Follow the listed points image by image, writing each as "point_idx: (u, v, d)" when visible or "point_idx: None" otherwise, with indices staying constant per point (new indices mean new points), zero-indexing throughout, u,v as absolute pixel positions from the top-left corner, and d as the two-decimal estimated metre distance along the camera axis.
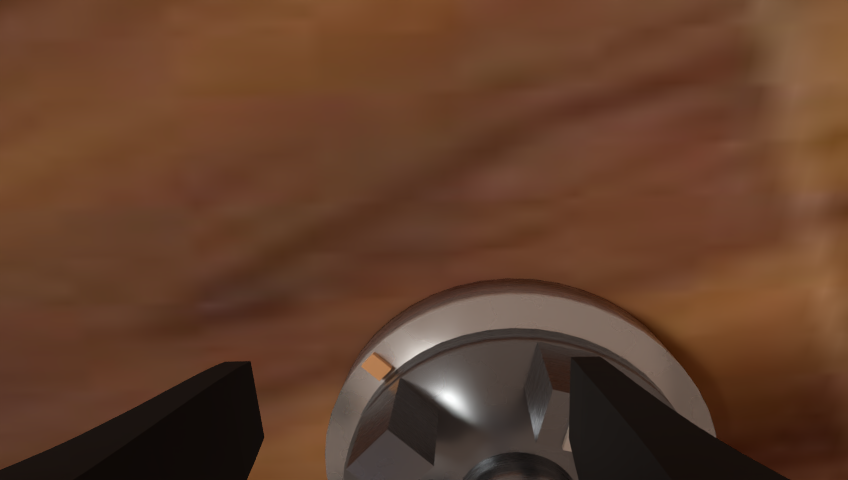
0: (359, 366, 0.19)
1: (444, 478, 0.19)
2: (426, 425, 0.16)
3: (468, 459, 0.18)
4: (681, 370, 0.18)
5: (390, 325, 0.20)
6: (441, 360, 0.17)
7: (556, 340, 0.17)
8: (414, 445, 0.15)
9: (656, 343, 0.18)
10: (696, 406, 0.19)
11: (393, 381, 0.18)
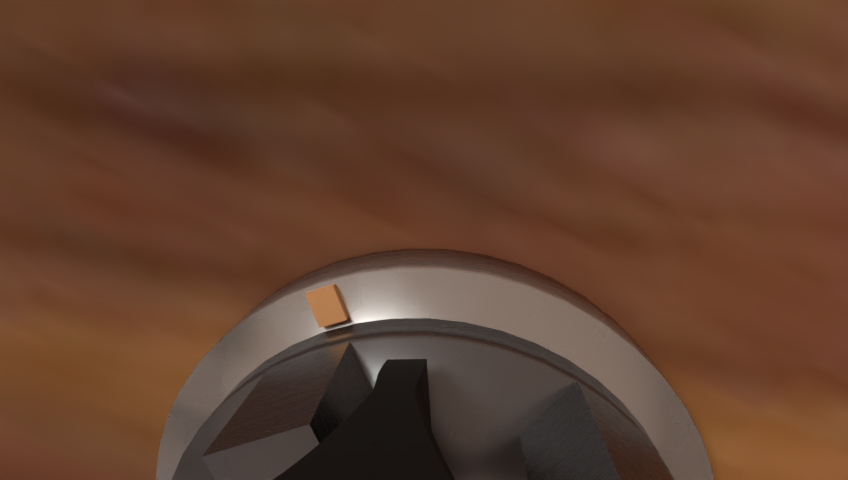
0: (301, 293, 0.12)
1: None
2: None
3: None
4: None
5: (371, 259, 0.13)
6: (424, 345, 0.11)
7: (596, 388, 0.11)
8: None
9: (706, 458, 0.13)
10: None
11: (334, 342, 0.11)
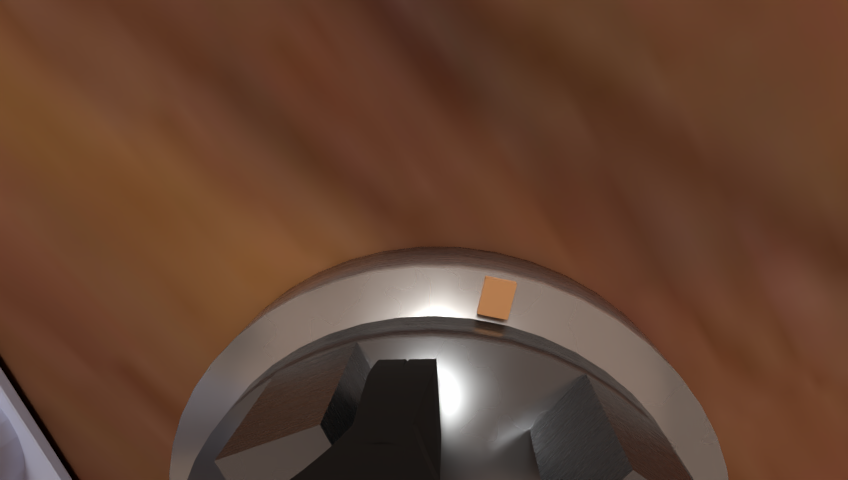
0: (478, 273, 0.12)
1: None
2: None
3: None
4: None
5: (538, 271, 0.13)
6: (431, 342, 0.11)
7: (604, 380, 0.11)
8: None
9: None
10: None
11: (341, 343, 0.11)
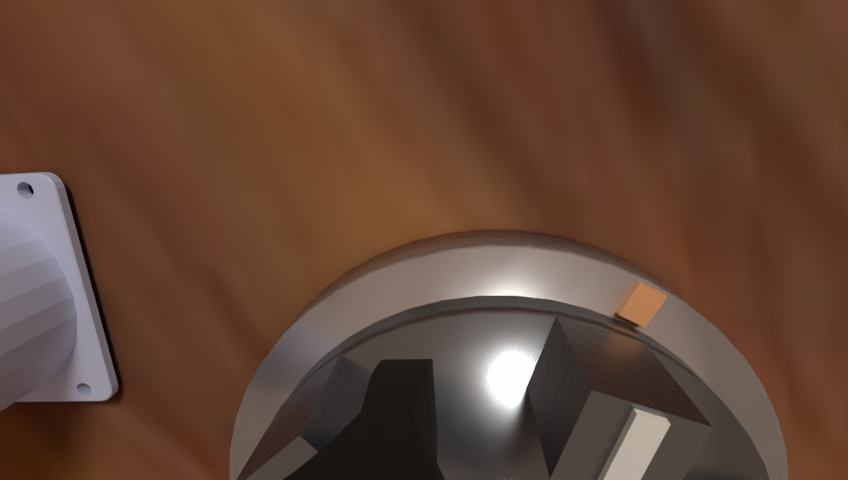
0: (631, 276, 0.12)
1: None
2: None
3: None
4: None
5: (669, 289, 0.13)
6: (405, 333, 0.11)
7: (583, 317, 0.11)
8: None
9: None
10: None
11: (330, 360, 0.12)
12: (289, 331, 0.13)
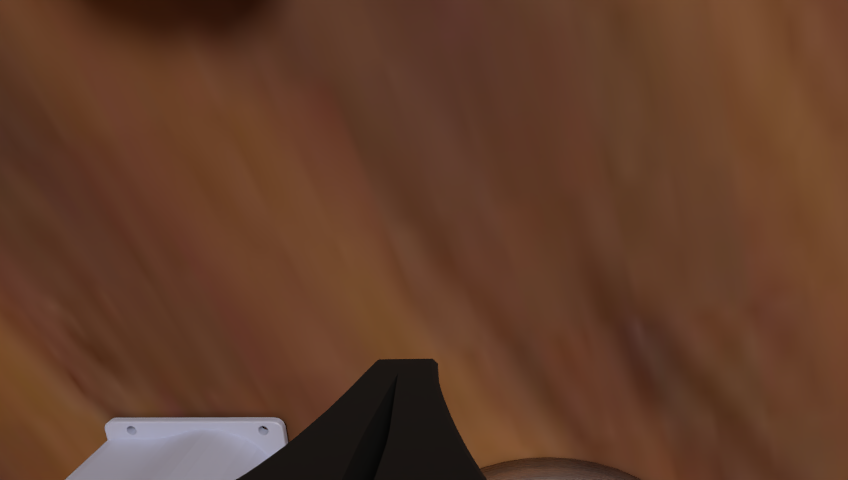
0: None
1: None
2: None
3: None
4: None
5: None
6: None
7: None
8: None
9: None
10: None
11: None
12: None
